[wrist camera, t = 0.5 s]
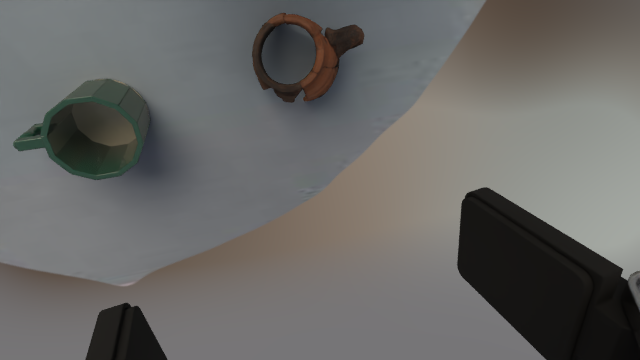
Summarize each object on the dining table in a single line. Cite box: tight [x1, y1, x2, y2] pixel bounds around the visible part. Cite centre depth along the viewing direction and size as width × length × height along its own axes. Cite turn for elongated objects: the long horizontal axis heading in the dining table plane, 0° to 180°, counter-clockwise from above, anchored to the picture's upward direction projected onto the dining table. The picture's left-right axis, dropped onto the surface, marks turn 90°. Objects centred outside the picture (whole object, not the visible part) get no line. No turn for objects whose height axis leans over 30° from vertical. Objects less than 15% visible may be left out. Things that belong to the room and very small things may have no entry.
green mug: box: [13, 79, 150, 180], centre depth 33 cm, size 10×7×8 cm
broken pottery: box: [252, 13, 364, 103], centre depth 38 cm, size 12×10×8 cm
